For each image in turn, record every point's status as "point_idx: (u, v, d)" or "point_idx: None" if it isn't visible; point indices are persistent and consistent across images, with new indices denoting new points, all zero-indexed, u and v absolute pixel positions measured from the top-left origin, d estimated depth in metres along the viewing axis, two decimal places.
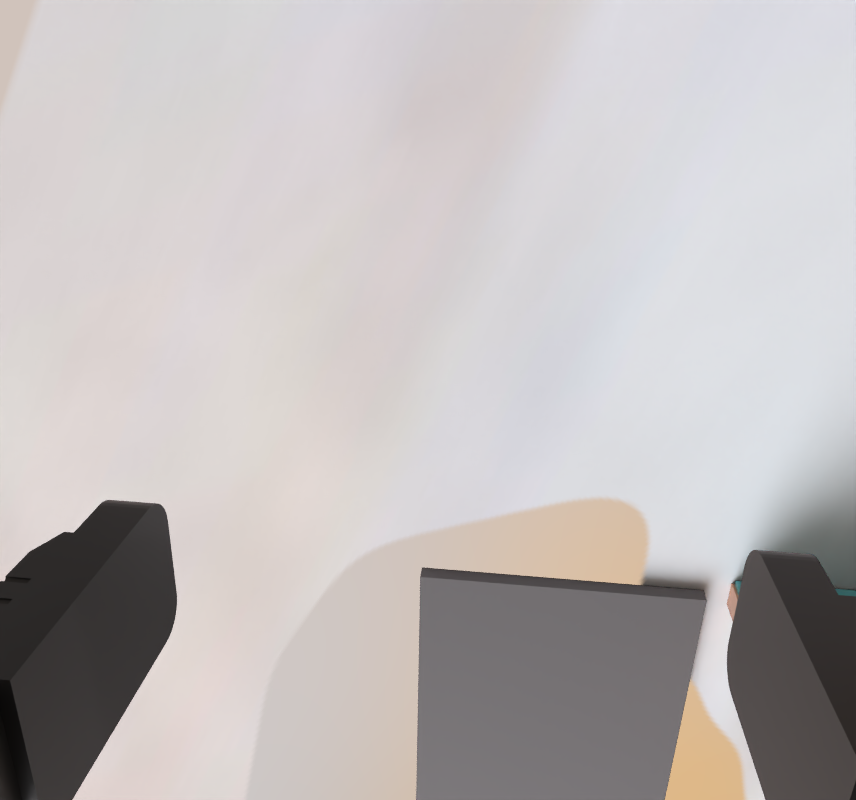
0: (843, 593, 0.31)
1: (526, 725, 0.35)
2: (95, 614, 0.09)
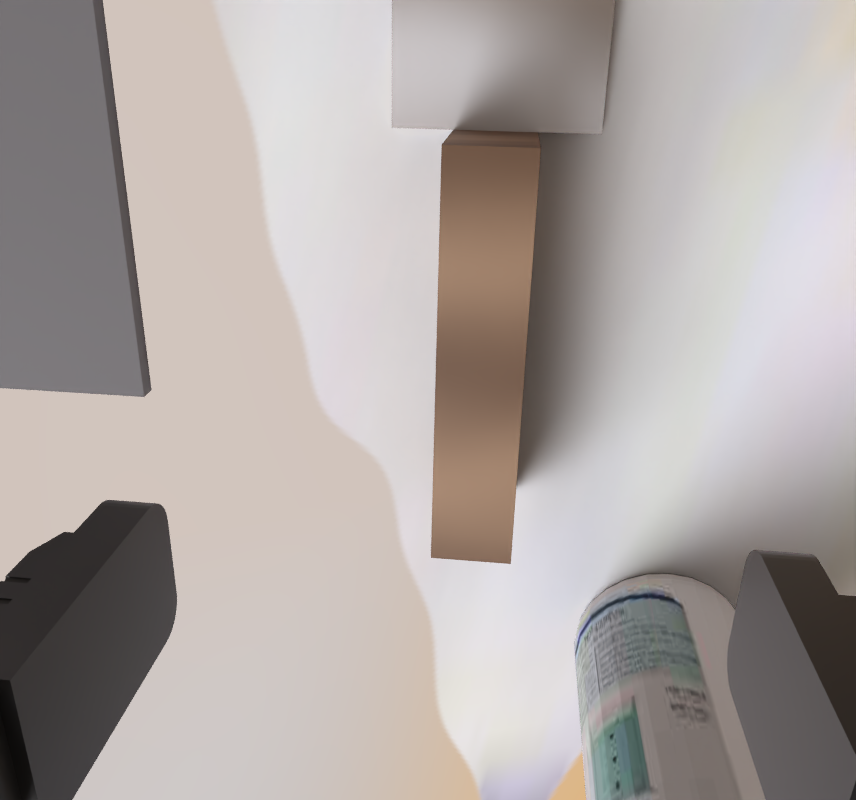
0: None
1: None
2: (95, 614, 0.09)
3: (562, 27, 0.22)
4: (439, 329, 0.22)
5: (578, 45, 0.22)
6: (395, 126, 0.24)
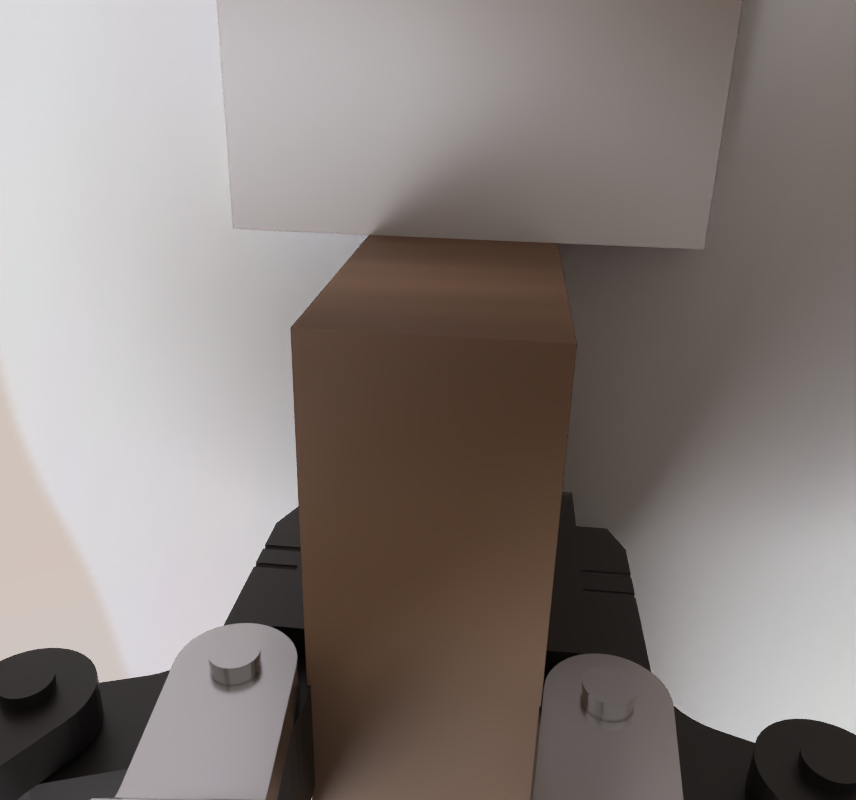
0: None
1: None
2: None
3: (619, 3, 0.09)
4: (316, 747, 0.09)
5: (657, 47, 0.09)
6: (241, 226, 0.11)
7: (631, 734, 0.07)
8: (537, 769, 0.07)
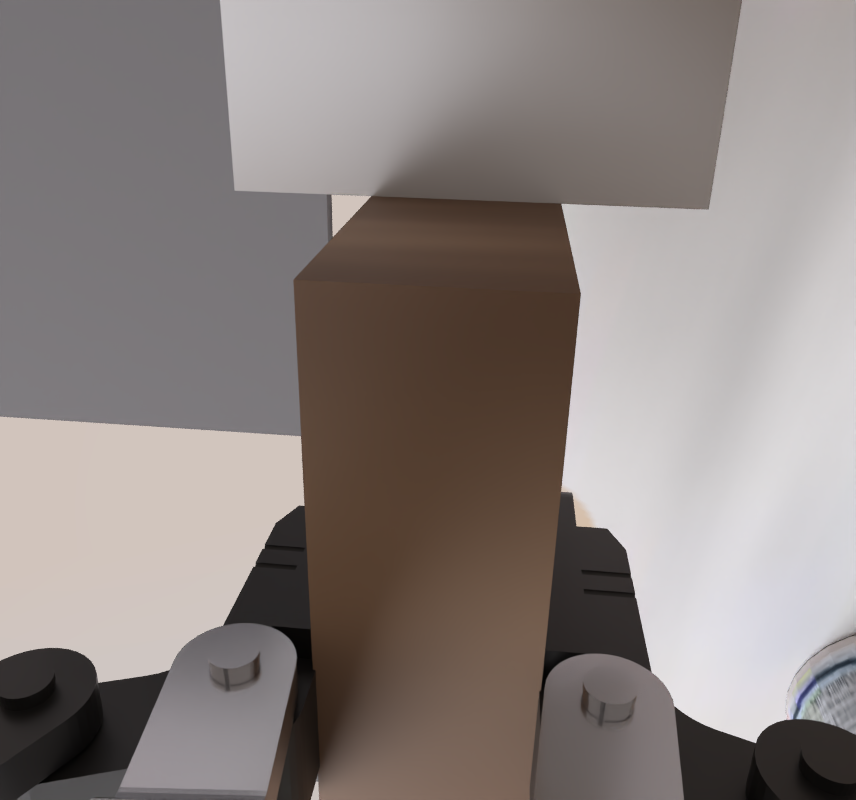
0: None
1: None
2: None
3: None
4: (321, 703, 0.09)
5: (662, 1, 0.09)
6: (243, 187, 0.11)
7: (631, 734, 0.07)
8: (537, 769, 0.07)
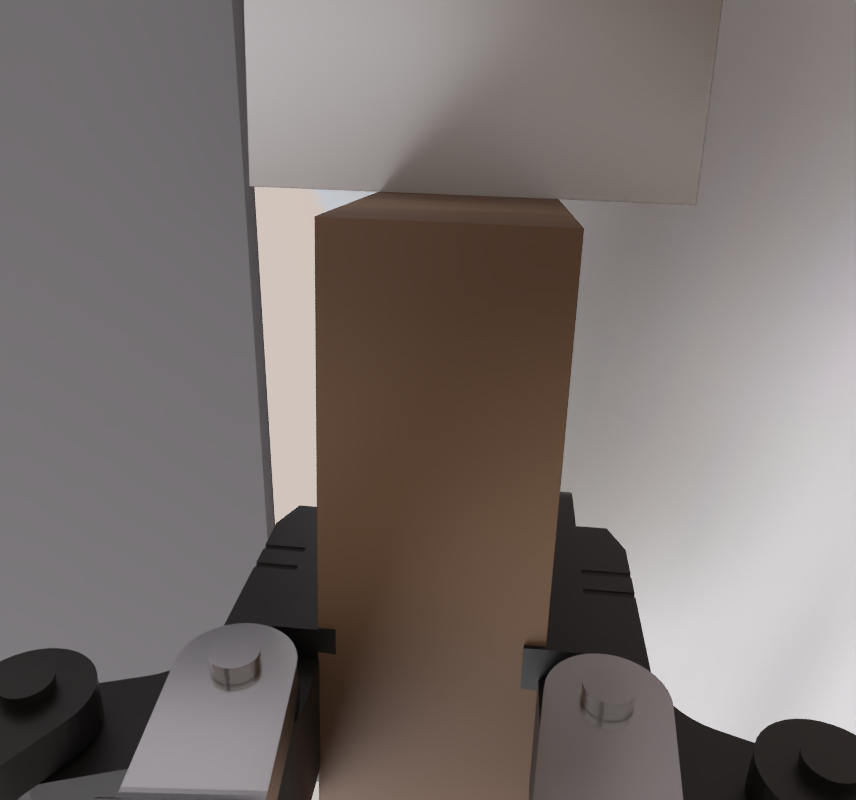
0: None
1: None
2: None
3: None
4: (324, 664, 0.09)
5: (649, 12, 0.10)
6: (257, 183, 0.11)
7: (630, 734, 0.07)
8: (536, 769, 0.07)
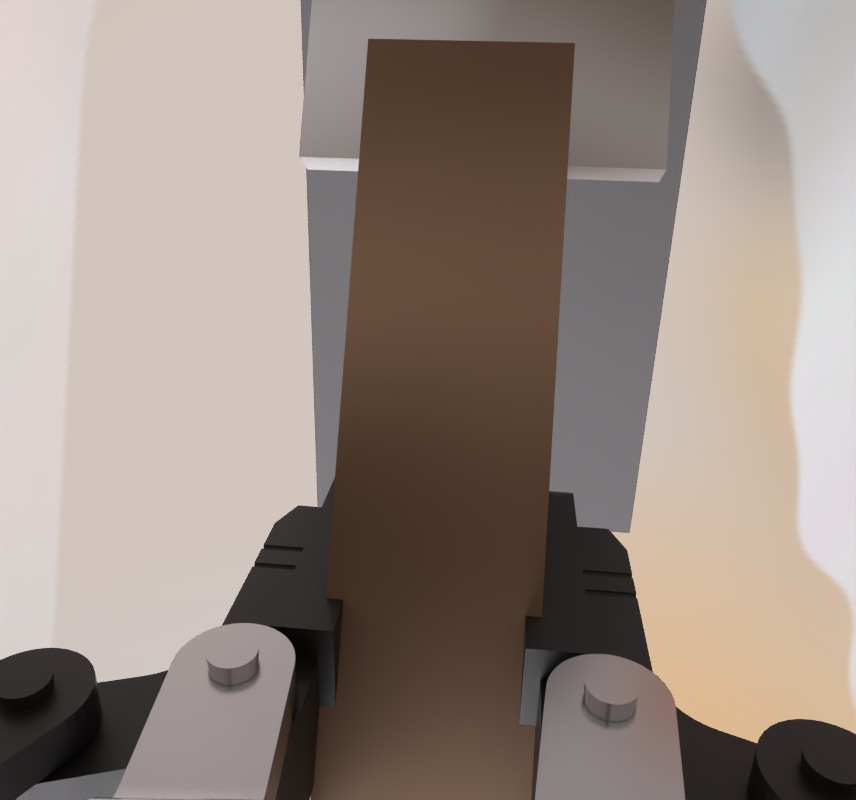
0: None
1: None
2: None
3: (591, 4, 0.13)
4: (343, 443, 0.09)
5: (619, 30, 0.13)
6: (306, 155, 0.14)
7: (633, 734, 0.07)
8: (539, 769, 0.07)
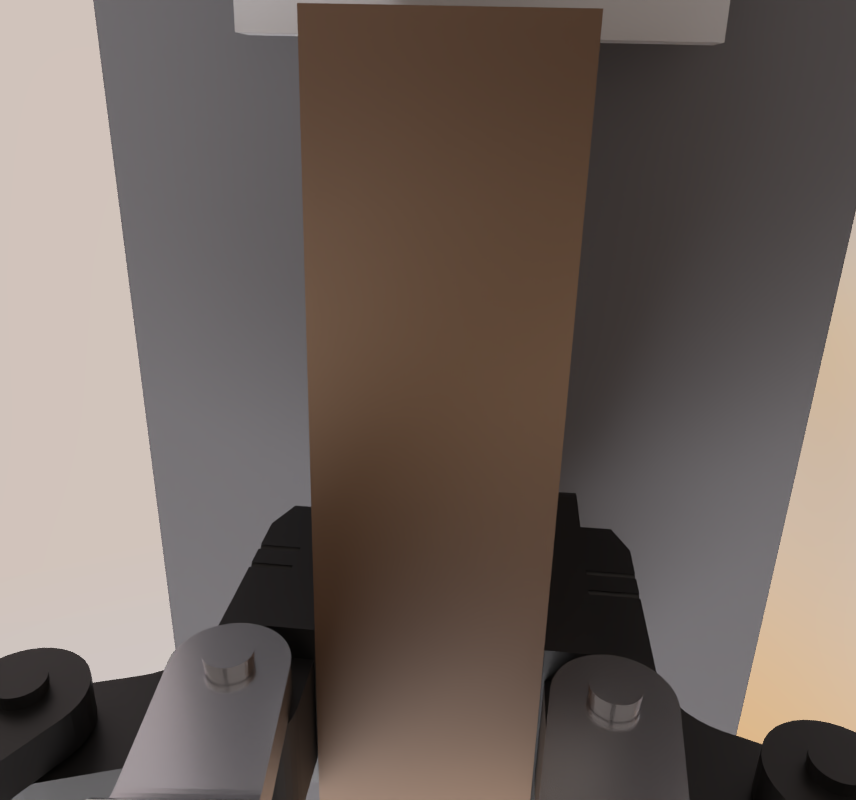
0: None
1: None
2: None
3: None
4: (318, 526, 0.08)
5: None
6: (243, 29, 0.10)
7: (637, 735, 0.07)
8: (544, 771, 0.07)
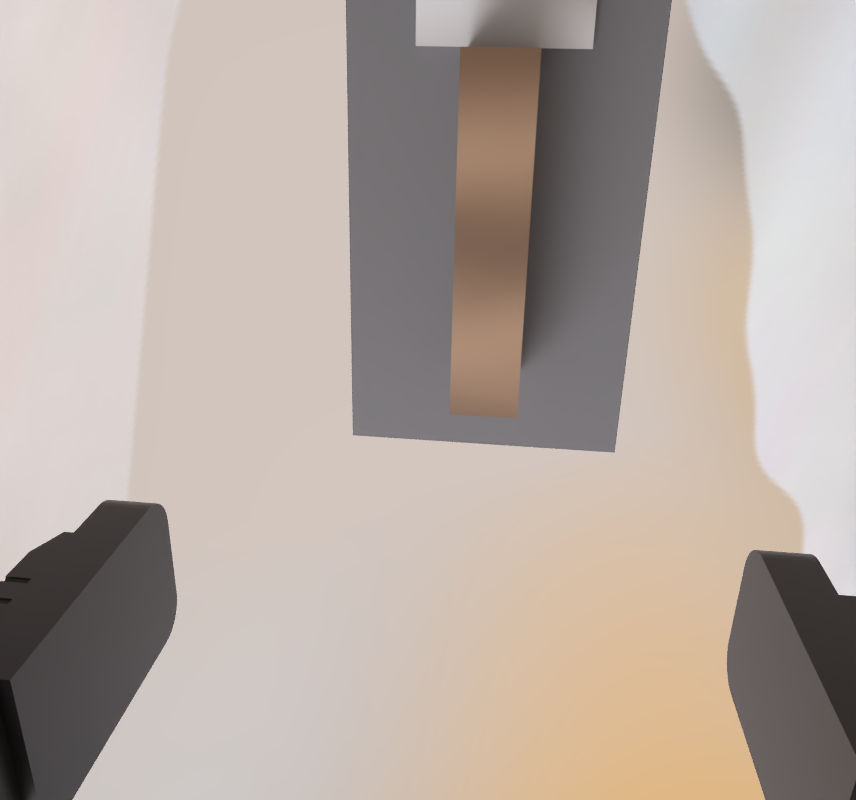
0: None
1: None
2: (94, 614, 0.09)
3: None
4: (457, 207, 0.26)
5: None
6: (418, 44, 0.28)
7: None
8: None
